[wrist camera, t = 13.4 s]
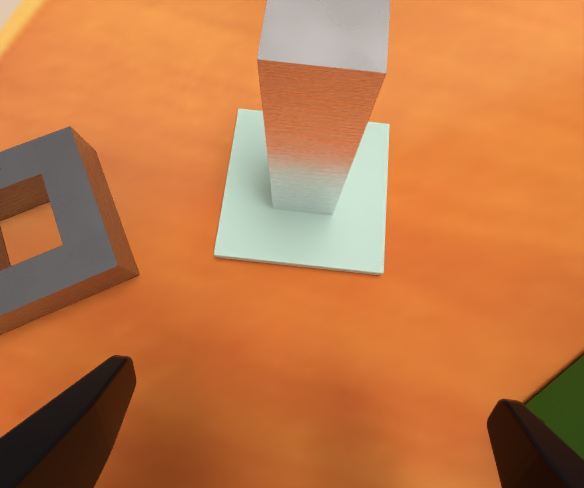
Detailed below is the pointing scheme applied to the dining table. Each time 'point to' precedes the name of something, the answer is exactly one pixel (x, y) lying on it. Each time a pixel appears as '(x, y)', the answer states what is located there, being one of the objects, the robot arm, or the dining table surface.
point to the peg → (318, 93)
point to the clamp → (564, 406)
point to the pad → (299, 225)
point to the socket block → (60, 228)
